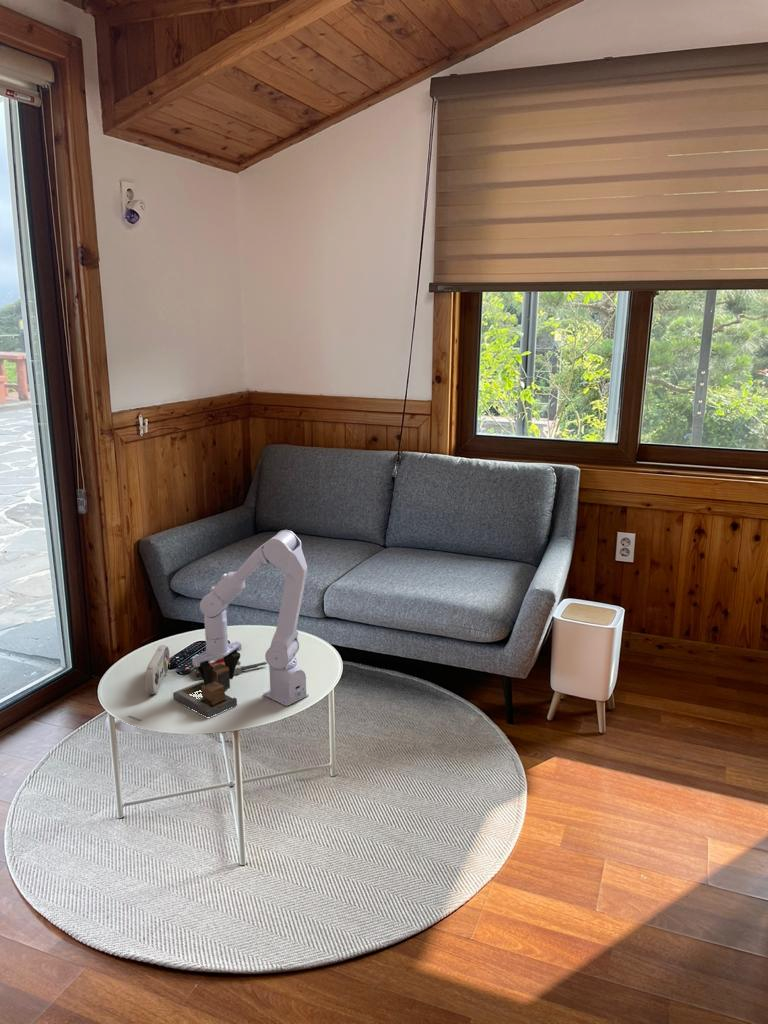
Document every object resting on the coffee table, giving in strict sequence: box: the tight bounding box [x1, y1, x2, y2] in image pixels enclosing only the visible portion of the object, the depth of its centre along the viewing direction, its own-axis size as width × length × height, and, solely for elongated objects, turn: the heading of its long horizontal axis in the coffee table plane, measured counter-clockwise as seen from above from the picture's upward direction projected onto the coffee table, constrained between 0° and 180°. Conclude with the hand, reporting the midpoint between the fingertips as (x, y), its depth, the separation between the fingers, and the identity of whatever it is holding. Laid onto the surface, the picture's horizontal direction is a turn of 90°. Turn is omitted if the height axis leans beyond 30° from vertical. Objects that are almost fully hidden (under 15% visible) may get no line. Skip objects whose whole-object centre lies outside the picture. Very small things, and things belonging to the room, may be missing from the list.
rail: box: [172, 680, 238, 718], centre depth 199 cm, size 15×9×6 cm, turn 48°
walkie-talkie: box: [194, 657, 268, 679], centre depth 218 cm, size 9×4×20 cm
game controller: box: [144, 644, 171, 695], centre depth 210 cm, size 20×2×8 cm, turn 3°
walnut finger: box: [212, 663, 231, 690], centre depth 207 cm, size 5×4×6 cm
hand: (219, 682), depth 207 cm, fingers open, 6 cm apart
